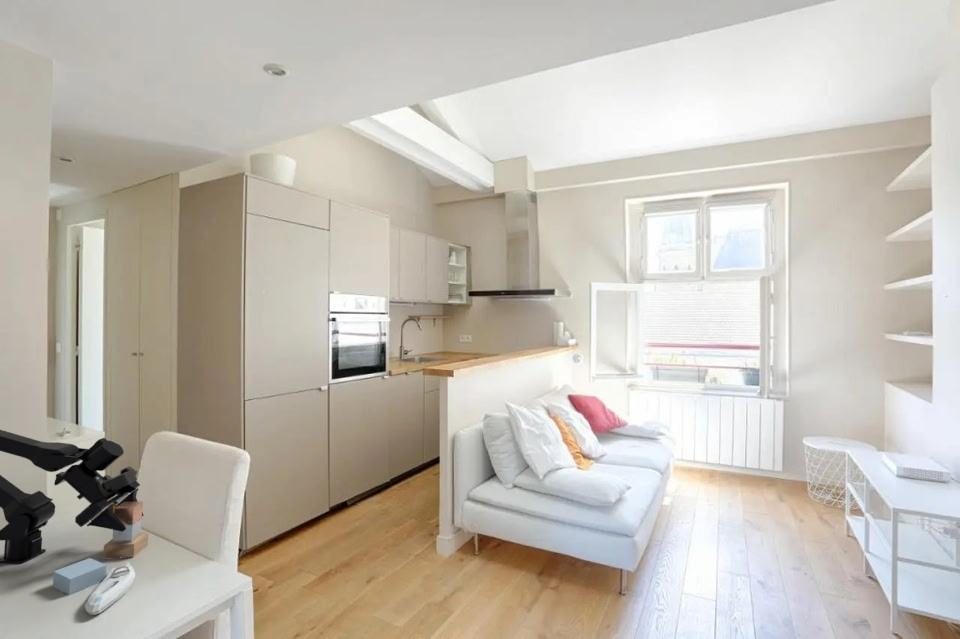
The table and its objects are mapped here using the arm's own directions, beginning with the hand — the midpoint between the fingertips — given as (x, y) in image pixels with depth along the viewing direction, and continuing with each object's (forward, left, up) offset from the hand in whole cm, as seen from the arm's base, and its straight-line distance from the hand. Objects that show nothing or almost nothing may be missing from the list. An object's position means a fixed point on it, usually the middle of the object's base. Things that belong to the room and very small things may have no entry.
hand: (133, 523), depth 121 cm
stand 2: (-1, 0, -8) cm, 8 cm away
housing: (-1, 0, -4) cm, 4 cm away
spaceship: (+8, -17, -8) cm, 21 cm away
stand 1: (0, -15, -8) cm, 17 cm away
